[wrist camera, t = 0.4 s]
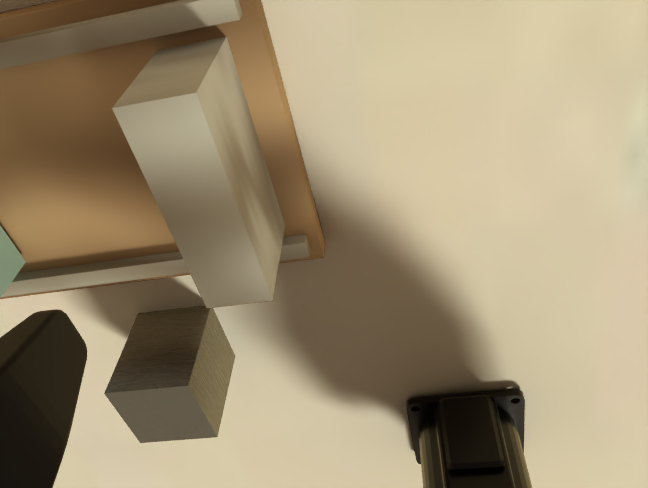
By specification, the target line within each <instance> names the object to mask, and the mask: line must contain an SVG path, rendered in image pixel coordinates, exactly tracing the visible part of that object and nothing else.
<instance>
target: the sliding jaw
mask: <svg viewBox="0 0 648 488" xmlns="http://www.w3.org/2000/svg"><path fill="white" fill-rule="evenodd" d="M25 263H26V261H25V260H24V258H23V257H22V256H21V254H20V253H19V251H18V250H17V248H16V247H15V246H14V244H13V243H12V241H11V240H10V238H9V237H8V236H7V234H6V233H5V231H4V230H3V229H2V227H1V226H0V298H1V296H2V295H3V294H4V292H5V291H6V289H7V288H8V286H9V285H10V284H11V282H12V281H13V279H14V278H15V277H16V275H17V274H18V272H19V271H20V270H21V268H22V267H23V265H24V264H25Z"/></svg>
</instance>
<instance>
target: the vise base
mask: <svg viewBox="0 0 648 488" xmlns="http://www.w3.org/2000/svg"><path fill="white" fill-rule="evenodd" d="M0 226H1V227H2V229H3V230H4V231H5V233H6V234H7V236H8V237H9V238H10V240H11V241H12V243H13V244H14V246H15V247H16V248H17V250H18V251H19V253H20V254H21V256H22V257H23V258H24V260H25V261H26V263H25V264H24V265H23V267H22V268H21V270H20V271H19V272H18V274H17V275H16V277H15V278H14V279H13V281H12V282H11V284H10V285H9V286H8V288H7V289H6V291H5V292H4V294H3V295H2V296H1V298H0V299H4V298H12V297H20V296H28V295H35V294H43V293H51V292H59V291H67V290H74V289H82V288H90V287H98V286H105V285H113V284H121V283H129V282H137V281H144V280H152V279H160V278H168V277H175V276H183V275H191V276H192V278H193V280H194V282H195V285H196V287H197V289H198V291H199V293H200V295H201V297H202V299H203V301H204V304H205V306H206V308H214V307H223V306H232V305H240V304H249V303H257V302H266V301H273V295H274V289H275V283H276V277H277V271H278V266H279V263H284V262H292V261H300V260H308V259H315V258H323V257H324V251H325V241H324V237H323V233H322V230H321V226H320V222H319V218H318V214H317V211H316V207H315V203H314V199H313V195H312V192H311V188H310V184H309V180H308V177H307V173H306V169H305V165H304V161H303V158H302V154H301V150H300V146H299V142H298V139H297V135H296V131H295V127H294V123H293V120H292V116H291V112H290V108H289V104H288V101H287V97H286V93H285V89H284V86H283V82H282V78H281V74H280V70H279V67H278V63H277V59H276V55H275V51H274V48H273V44H272V40H271V36H270V32H269V29H268V25H267V21H266V17H265V14H264V10H263V6H262V2H261V0H57V1H53V2H48V3H44V4H39V5H35V6H30V7H26V8H21V9H17V10H12V11H8V12H3V13H0Z"/></svg>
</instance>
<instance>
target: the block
mask: <svg viewBox="0 0 648 488" xmlns="http://www.w3.org/2000/svg"><path fill="white" fill-rule="evenodd" d="M234 359H235V355H234V352H233V350H232V348H231V346H230V344H229V342H228V340H227V337H226V335H225V333H224V331H223V329H222V327H221V325H220V322H219V320H218V318H217V316H216V314H215V312H214V309H213V308H206V306H198V307H189V308H181V309H172V310H164V311H156V312H147V313H139V314H138V316H137V318H136V320H135V323H134V325H133V327H132V330H131V332H130V334H129V337H128V339H127V341H126V344H125V346H124V349H123V351H122V353H121V356H120V358H119V360H118V363H117V365H116V367H115V370H114V372H113V374H112V377H111V379H110V382H109V384H108V386H107V389H106V391H105V393H104V394H105V395H106V396H107V398H108V399H109V401H110V402H111V403H112V405H113V406H114V407H115V409H116V410H117V411H118V413H119V414H120V416H121V417H122V418H123V420H124V421H125V422H126V424H127V425H128V427H129V428H130V429H131V431H132V432H133V433H134V435H135V436H136V438H137V439H138V440H139V442H140V443H145V442H158V441H171V440H185V439H198V438H211V437H217V436H218V432H219V427H220V423H221V418H222V414H223V409H224V405H225V400H226V395H227V391H228V386H229V382H230V377H231V373H232V368H233V364H234Z"/></svg>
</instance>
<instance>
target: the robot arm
mask: <svg viewBox="0 0 648 488" xmlns="http://www.w3.org/2000/svg"><path fill="white" fill-rule="evenodd" d="M86 360H87V347H86V344H85V342H84V340H83V339H82V337H81V336H80V334H79V332H78V331H77V329H76V328H75V326H74V325H73V323H72V322H71V320H70V319H69V317H68V316H67V314H66V313H64V312H63V311H61V310H47V311H39V312H36V313H34V314H32V315H31V316H29V317H28V318H26V319H25V320H24V321H22V322H21V323H20V324H18V325H17V326H16V327H14V328H13V329H12V330H10V331H9V332H7V333H6V334H5V335H3V336H2V337H1V338H0V488H53V485H54V482H55V479H56V476H57V473H58V470H59V467H60V464H61V461H62V458H63V455H64V452H65V448H66V445H67V442H68V438H69V434H70V430H71V426H72V421H73V417H74V413H75V408H76V404H77V399H78V395H79V391H80V386H81V382H82V377H83V373H84V369H85V364H86ZM406 407H407V414H408V419H409V424H410V429H411V434H412V440H413V445H414V450H415V455H416V460H417V462H418V463H419V464H421V467H422V478H423V488H532V485H531V481H530V477H529V473H528V469H527V465H526V461H525V457H524V410H525V399H524V396H523V392H522V391H520V390H517V389H512V390H501V391H489V392H477V393H465V394H453V395H441V396H429V397H417V398H411V399H409V400H408V401H407V402H406Z"/></svg>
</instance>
